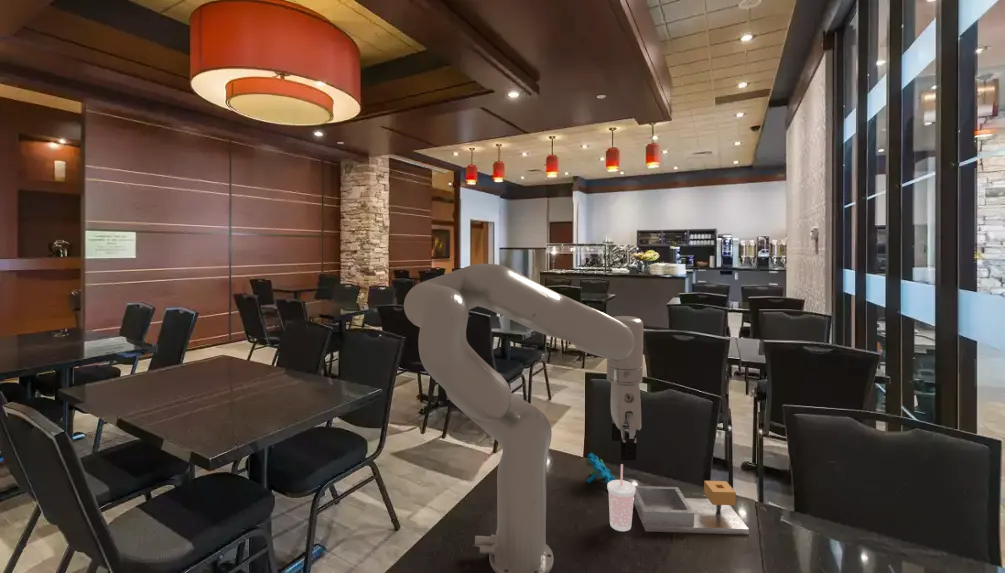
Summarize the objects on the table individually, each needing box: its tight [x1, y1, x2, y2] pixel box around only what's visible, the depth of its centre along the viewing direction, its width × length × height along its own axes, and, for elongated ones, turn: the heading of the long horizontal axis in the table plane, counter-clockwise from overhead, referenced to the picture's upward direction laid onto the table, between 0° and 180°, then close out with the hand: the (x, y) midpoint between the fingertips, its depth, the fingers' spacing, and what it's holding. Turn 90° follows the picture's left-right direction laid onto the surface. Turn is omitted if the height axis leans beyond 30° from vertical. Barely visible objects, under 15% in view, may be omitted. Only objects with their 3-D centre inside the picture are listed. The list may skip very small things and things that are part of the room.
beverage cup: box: [606, 463, 636, 532], centre depth 103 cm, size 6×6×14 cm
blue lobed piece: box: [586, 452, 616, 484], centre depth 123 cm, size 11×6×10 cm
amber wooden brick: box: [703, 480, 737, 506], centre depth 106 cm, size 5×5×3 cm
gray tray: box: [633, 485, 750, 535], centre depth 107 cm, size 22×12×4 cm, turn 87°
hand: (623, 449), depth 102 cm, fingers open, 9 cm apart
